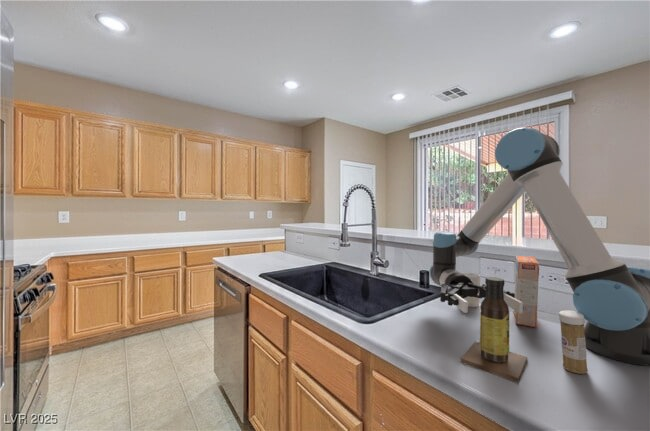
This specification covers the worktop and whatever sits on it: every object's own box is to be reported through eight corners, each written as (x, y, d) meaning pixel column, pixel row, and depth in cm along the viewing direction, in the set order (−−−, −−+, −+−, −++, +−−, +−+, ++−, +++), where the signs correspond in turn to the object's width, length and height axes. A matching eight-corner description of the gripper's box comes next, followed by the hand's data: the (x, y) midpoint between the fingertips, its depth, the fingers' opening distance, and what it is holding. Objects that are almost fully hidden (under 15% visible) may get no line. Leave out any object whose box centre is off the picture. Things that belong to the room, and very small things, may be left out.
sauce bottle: (513, 365, 68) (515, 282, 67) (484, 362, 69) (486, 281, 68) (502, 351, 74) (503, 276, 73) (476, 349, 75) (477, 275, 74)
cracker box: (538, 328, 90) (540, 263, 89) (515, 324, 93) (516, 261, 92) (533, 314, 102) (535, 256, 101) (513, 311, 105) (514, 254, 104)
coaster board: (527, 360, 71) (527, 356, 71) (518, 382, 63) (518, 378, 63) (475, 344, 80) (475, 341, 80) (460, 362, 71) (460, 358, 71)
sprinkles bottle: (558, 366, 69) (553, 311, 69) (573, 362, 70) (569, 308, 70) (577, 376, 65) (572, 318, 65) (594, 372, 66) (589, 315, 65)
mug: (474, 309, 107) (475, 277, 106) (457, 304, 112) (457, 274, 112) (486, 303, 113) (486, 273, 113) (468, 298, 118) (469, 270, 118)
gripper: (494, 295, 92) (543, 322, 71) (417, 294, 93) (443, 321, 71) (495, 272, 92) (544, 292, 71) (417, 272, 92) (443, 292, 71)
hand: (493, 307), depth 71 cm, fingers open, 13 cm apart
